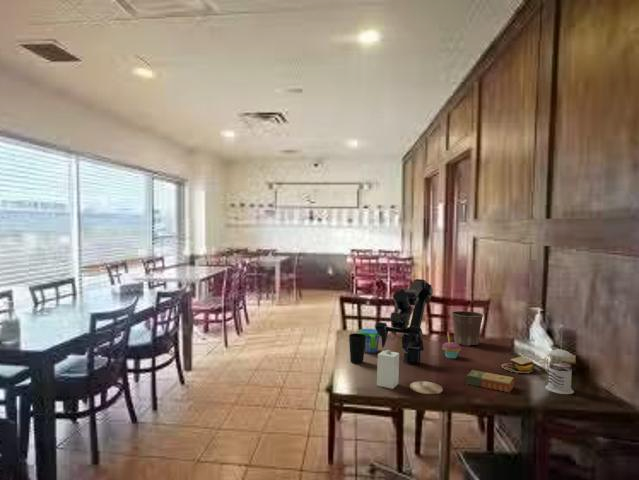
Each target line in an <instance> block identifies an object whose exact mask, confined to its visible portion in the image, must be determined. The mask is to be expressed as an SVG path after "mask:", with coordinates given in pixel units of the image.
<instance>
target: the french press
mask: <svg viewBox="0 0 639 480" xmlns="http://www.w3.org/2000/svg"><path fill="white" fill-rule="evenodd" d="M558 327H559V328H560V329H565V327H566V326H565V325H564V324H560V325H559V326H558ZM560 332H561V337H560V349H558V348H557V349H552V350H550V351H549V352H548V353H549V354H547V355H545V357H544V359H543V361H546V365H545V364H543V366H544V367H543V368H544V369H545V372H547V374H548V381H547V385H545V387H544V388H545V389H546V390H547V391H549V392H552V393H556V394H560V395H561V394H562V395H571V394H574V393H575V391H574V390H573V389H572V375H573V374H572V373H573V372H572V371H573V369H572V368H571V367H572V365H571V364H569V363H566V362H562V359H570V358H573V357H574V356H573V353H570V352H569V351H567V350H564V349H562V343H563V341H562V340H563V331H560ZM551 356H552V357H551ZM554 357H556V358H557V357H558V358H560V359H559V361H557V360H556V361H550V363H549V365H548V361H549V358H550V359H552V360H553V359H554ZM546 366H547V369H548V370H547V369H546Z"/></svg>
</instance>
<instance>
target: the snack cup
mask: <svg viewBox="0 0 639 480" xmlns="http://www.w3.org/2000/svg"><path fill="white" fill-rule="evenodd" d="M358 334H364V335H366V342H365V350H364V353H366V354H367V353H368V354H374V353H377V352H378V349H379V343H380V337H381V336H380V335H379V334H378V333H377V330H376V328H361V329H359V331H358Z"/></svg>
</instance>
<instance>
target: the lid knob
mask: <svg viewBox="0 0 639 480" xmlns="http://www.w3.org/2000/svg"><path fill="white" fill-rule="evenodd" d="M423 387H424V388H430V381H424V382H423Z"/></svg>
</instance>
